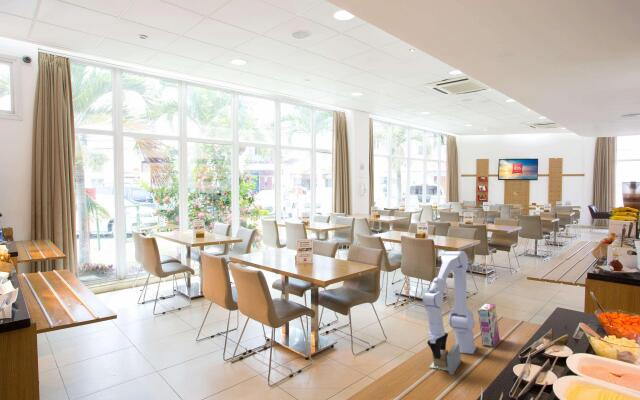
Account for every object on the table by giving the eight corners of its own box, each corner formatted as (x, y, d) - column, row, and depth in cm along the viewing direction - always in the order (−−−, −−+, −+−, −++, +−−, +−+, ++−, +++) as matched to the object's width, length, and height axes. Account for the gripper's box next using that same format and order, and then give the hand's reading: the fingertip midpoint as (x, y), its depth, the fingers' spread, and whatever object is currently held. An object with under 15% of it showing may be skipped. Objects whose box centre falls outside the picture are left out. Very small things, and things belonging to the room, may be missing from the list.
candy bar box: (493, 347, 166) (488, 310, 167) (482, 345, 169) (477, 309, 170) (500, 339, 175) (495, 303, 175) (489, 337, 178) (484, 303, 179)
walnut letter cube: (437, 361, 157) (435, 348, 157) (449, 362, 154) (447, 349, 155) (434, 365, 153) (432, 353, 153) (446, 367, 150) (444, 354, 150)
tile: (435, 361, 159) (434, 359, 159) (453, 363, 155) (452, 361, 155) (429, 368, 153) (429, 366, 153) (448, 370, 149) (448, 368, 149)
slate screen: (457, 360, 157) (455, 343, 157) (461, 360, 156) (458, 343, 157) (448, 374, 145) (446, 356, 146) (452, 374, 145) (450, 356, 145)
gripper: (431, 316, 163) (435, 347, 162) (420, 326, 151) (425, 360, 150) (447, 316, 159) (452, 349, 158) (438, 327, 147) (442, 362, 146)
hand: (440, 354), depth 154 cm, fingers open, 7 cm apart
